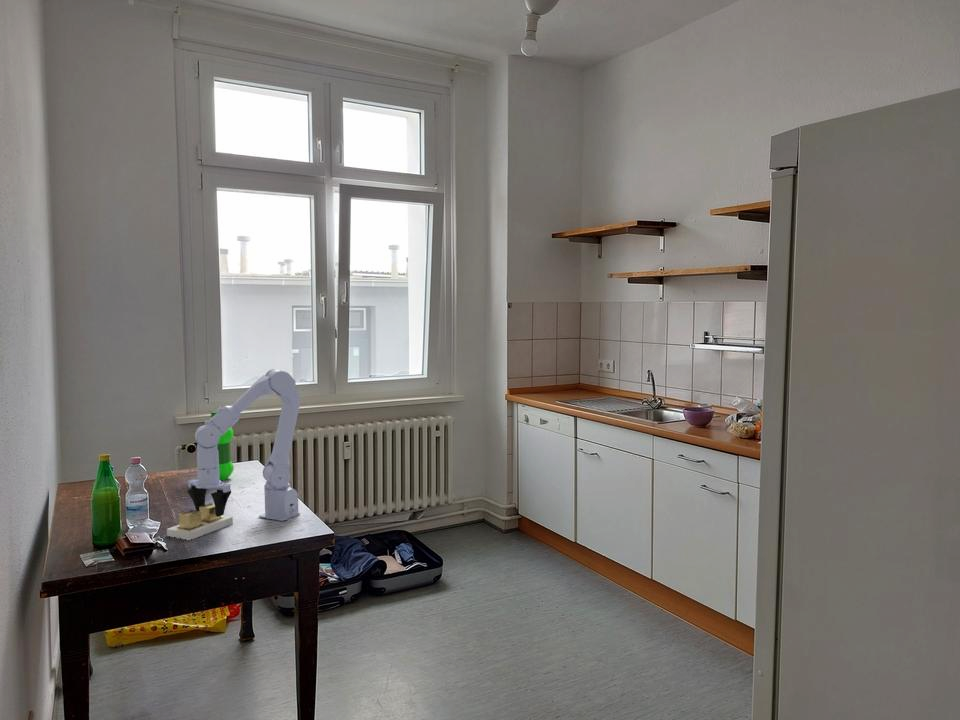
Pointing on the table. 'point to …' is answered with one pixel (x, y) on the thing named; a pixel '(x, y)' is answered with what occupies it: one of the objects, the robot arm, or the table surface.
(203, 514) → the brass billet
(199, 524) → the seated billet
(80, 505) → the table surface
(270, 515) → the robot arm
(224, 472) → the plastic bottle
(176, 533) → the tray
